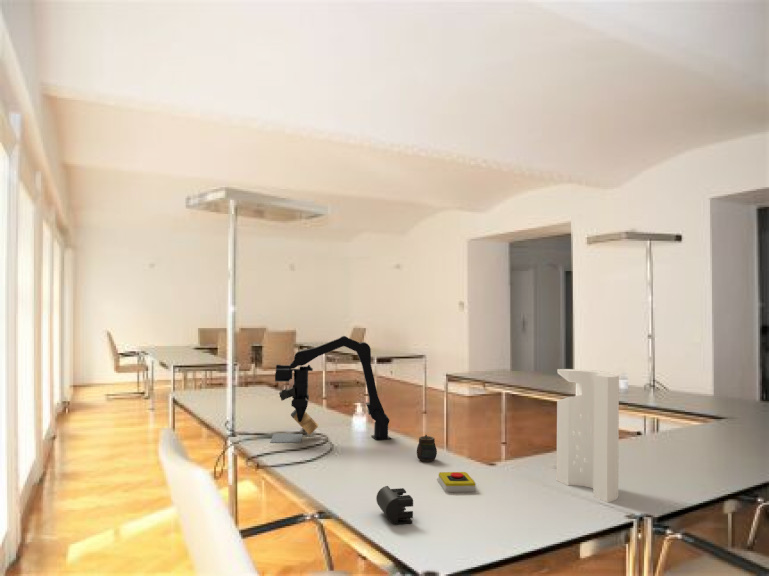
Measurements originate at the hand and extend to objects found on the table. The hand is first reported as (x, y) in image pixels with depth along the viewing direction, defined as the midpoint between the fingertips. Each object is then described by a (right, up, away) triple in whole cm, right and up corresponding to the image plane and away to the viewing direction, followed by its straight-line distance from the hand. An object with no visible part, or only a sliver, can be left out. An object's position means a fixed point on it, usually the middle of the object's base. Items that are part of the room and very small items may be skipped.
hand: (300, 420), depth 226 cm
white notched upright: (+97, -7, -57) cm, 113 cm away
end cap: (+37, -5, -84) cm, 91 cm away
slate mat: (-5, -7, -1) cm, 9 cm away
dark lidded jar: (+49, -7, -29) cm, 57 cm away
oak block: (+6, -4, 0) cm, 7 cm away
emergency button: (+56, -7, -57) cm, 80 cm away
